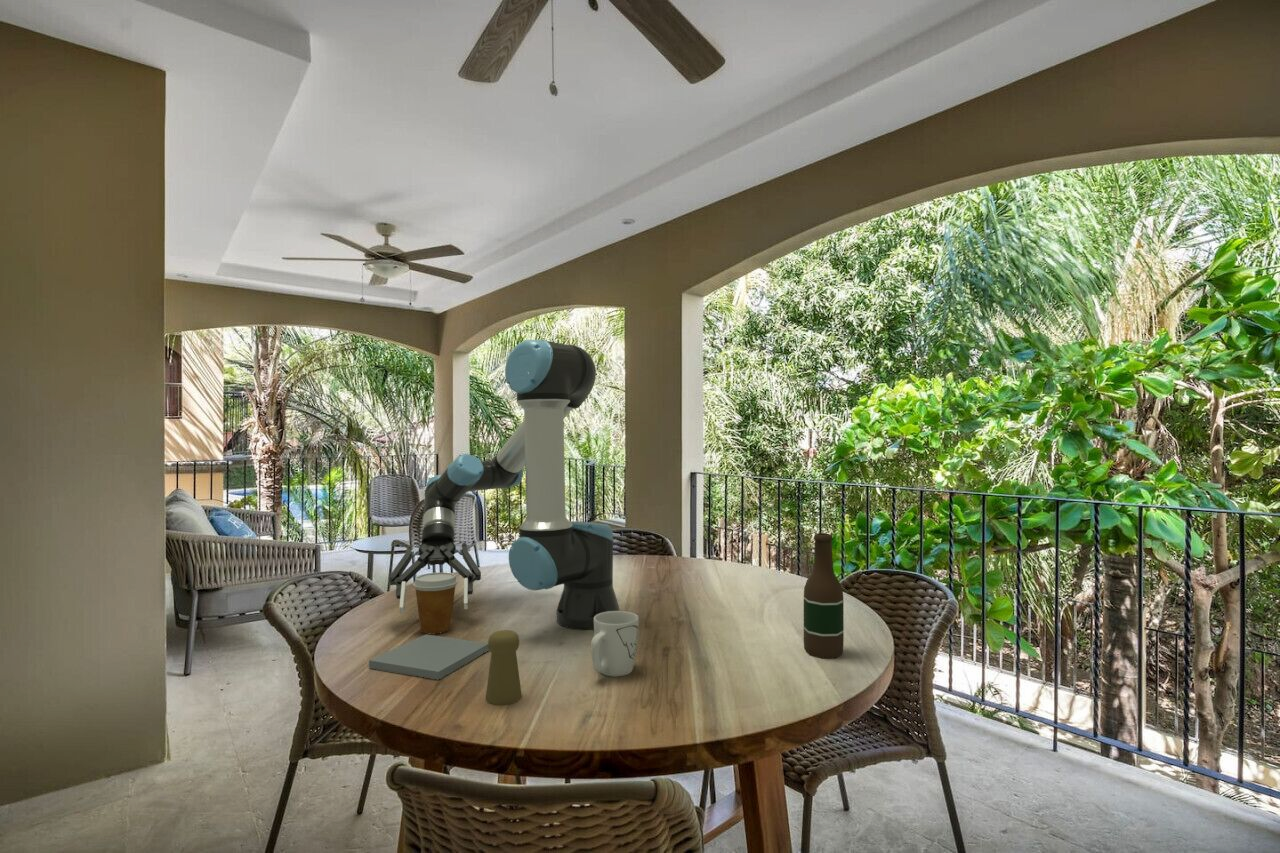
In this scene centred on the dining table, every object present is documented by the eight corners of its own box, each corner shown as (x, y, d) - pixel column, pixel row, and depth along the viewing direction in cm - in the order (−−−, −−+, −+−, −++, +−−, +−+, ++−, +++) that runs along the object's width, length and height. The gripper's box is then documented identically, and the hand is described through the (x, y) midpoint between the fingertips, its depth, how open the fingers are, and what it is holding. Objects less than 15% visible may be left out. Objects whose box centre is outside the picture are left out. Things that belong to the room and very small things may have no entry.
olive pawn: (488, 690, 109) (488, 626, 109) (523, 689, 110) (523, 626, 110) (482, 705, 103) (482, 638, 103) (519, 704, 104) (519, 637, 104)
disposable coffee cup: (463, 624, 146) (463, 572, 146) (447, 637, 137) (447, 582, 137) (424, 622, 147) (424, 571, 147) (405, 636, 138) (405, 581, 138)
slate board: (489, 650, 129) (489, 643, 129) (438, 680, 114) (438, 671, 114) (425, 641, 134) (425, 634, 134) (369, 668, 119) (369, 660, 119)
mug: (612, 688, 110) (612, 631, 110) (574, 678, 114) (574, 623, 114) (647, 667, 120) (646, 615, 120) (610, 659, 124) (610, 608, 124)
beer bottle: (843, 648, 130) (843, 532, 130) (843, 661, 123) (843, 538, 123) (805, 644, 133) (805, 530, 133) (802, 656, 125) (801, 536, 125)
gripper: (490, 537, 161) (491, 612, 146) (385, 541, 155) (376, 620, 140) (490, 519, 156) (491, 595, 141) (382, 523, 150) (372, 603, 135)
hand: (434, 608), depth 141 cm, fingers open, 13 cm apart
